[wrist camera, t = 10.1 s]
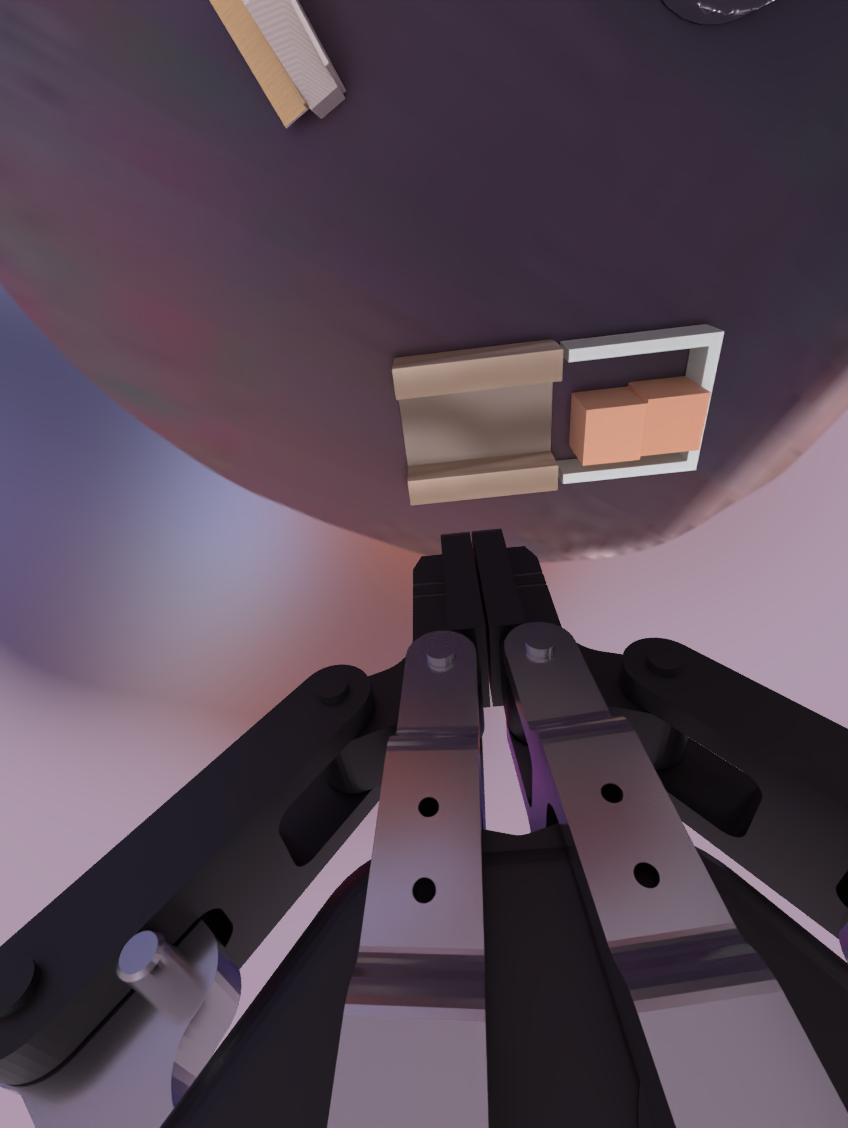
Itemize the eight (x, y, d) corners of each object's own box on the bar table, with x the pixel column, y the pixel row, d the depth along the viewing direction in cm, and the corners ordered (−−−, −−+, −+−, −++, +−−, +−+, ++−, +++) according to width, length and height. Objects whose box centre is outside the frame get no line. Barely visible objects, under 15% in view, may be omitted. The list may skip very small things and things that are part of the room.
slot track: (393, 358, 36) (391, 369, 34) (553, 339, 35) (563, 349, 33) (411, 487, 42) (410, 505, 39) (548, 473, 41) (557, 490, 39)
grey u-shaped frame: (560, 341, 36) (569, 349, 33) (706, 323, 35) (724, 331, 33) (555, 470, 41) (562, 484, 39) (681, 456, 40) (695, 470, 38)
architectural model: (301, 139, 30) (272, 123, 24) (212, -11, 26) (151, -76, 20) (349, 97, 29) (331, 68, 23) (264, -65, 25) (216, -150, 19)
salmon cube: (627, 382, 37) (648, 399, 34) (684, 375, 37) (710, 392, 34) (621, 435, 40) (640, 456, 36) (675, 429, 39) (698, 450, 36)
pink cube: (571, 392, 38) (586, 410, 34) (627, 385, 37) (647, 403, 34) (568, 444, 40) (582, 466, 37) (621, 438, 40) (640, 459, 36)
